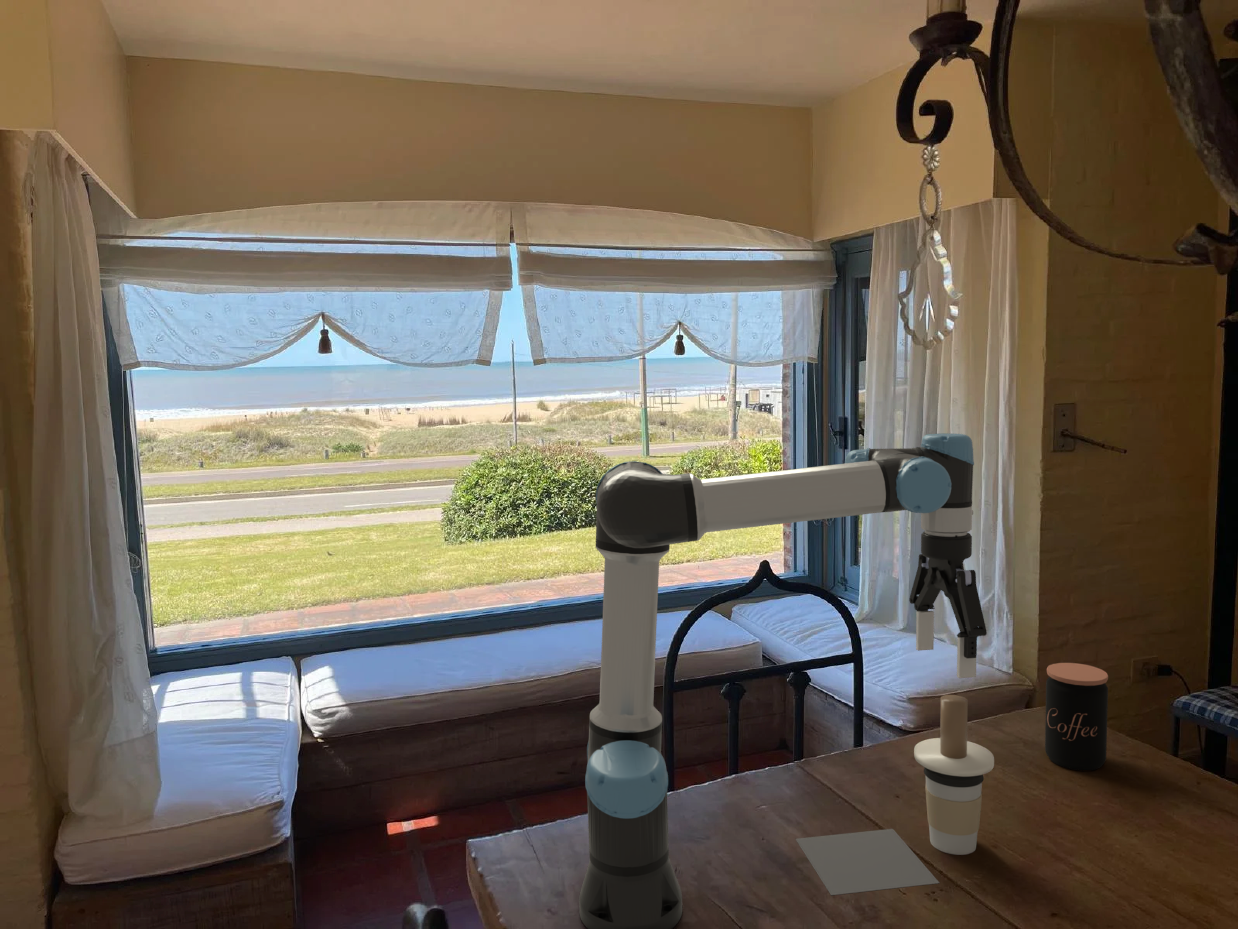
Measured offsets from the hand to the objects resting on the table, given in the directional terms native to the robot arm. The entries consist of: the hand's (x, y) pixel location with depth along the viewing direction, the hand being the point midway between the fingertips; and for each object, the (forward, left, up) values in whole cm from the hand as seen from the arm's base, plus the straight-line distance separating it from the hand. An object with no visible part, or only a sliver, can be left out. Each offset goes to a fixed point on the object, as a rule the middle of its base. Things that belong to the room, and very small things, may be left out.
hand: (944, 662), depth 140 cm
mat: (-15, -3, -31) cm, 34 cm away
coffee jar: (+40, +24, -31) cm, 56 cm away
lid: (+1, -1, -16) cm, 16 cm away
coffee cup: (+1, -1, -31) cm, 31 cm away
